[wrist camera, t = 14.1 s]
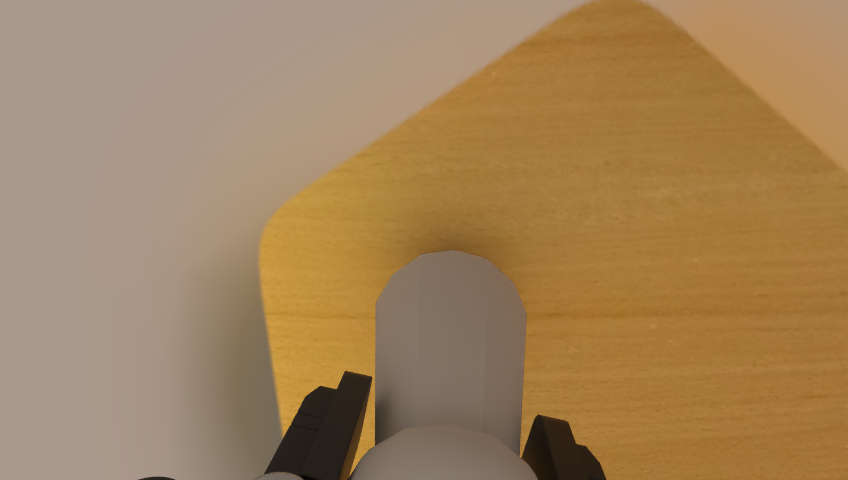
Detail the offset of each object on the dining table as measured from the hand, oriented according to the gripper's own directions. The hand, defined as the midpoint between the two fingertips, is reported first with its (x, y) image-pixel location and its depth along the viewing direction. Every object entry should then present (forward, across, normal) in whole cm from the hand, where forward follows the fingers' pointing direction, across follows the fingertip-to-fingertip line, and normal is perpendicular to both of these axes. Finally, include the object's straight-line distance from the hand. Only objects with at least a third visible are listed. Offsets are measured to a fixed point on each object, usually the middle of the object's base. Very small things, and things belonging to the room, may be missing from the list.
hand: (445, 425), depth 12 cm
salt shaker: (+8, 0, 0) cm, 8 cm away
